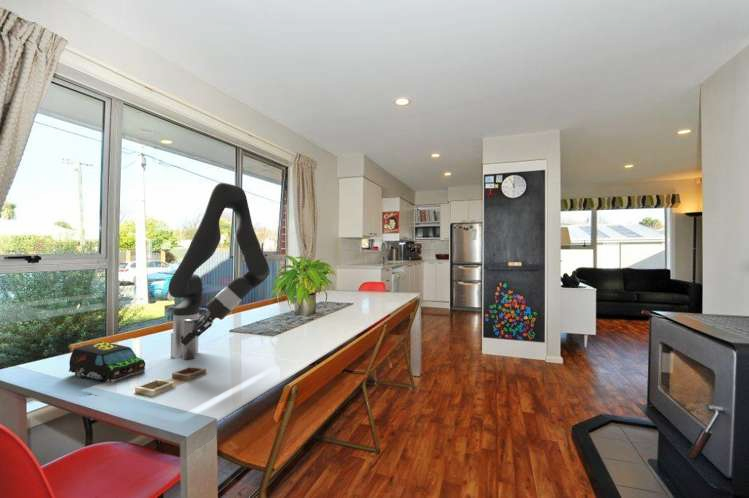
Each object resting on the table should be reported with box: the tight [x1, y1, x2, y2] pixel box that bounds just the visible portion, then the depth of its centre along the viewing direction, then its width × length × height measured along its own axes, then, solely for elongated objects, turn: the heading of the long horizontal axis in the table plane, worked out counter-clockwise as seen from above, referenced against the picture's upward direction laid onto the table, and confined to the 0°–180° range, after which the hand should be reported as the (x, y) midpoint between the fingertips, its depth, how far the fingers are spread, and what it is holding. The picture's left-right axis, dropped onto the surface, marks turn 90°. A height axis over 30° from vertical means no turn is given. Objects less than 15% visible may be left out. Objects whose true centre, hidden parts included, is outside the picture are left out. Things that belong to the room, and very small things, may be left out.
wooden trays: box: [133, 366, 207, 398], centre depth 104 cm, size 7×20×3 cm, turn 161°
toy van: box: [68, 341, 146, 384], centre depth 113 cm, size 11×25×10 cm, turn 68°
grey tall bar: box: [182, 318, 197, 361], centre depth 110 cm, size 4×4×13 cm
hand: (183, 341), depth 109 cm, fingers closed on grey tall bar, 3 cm apart
